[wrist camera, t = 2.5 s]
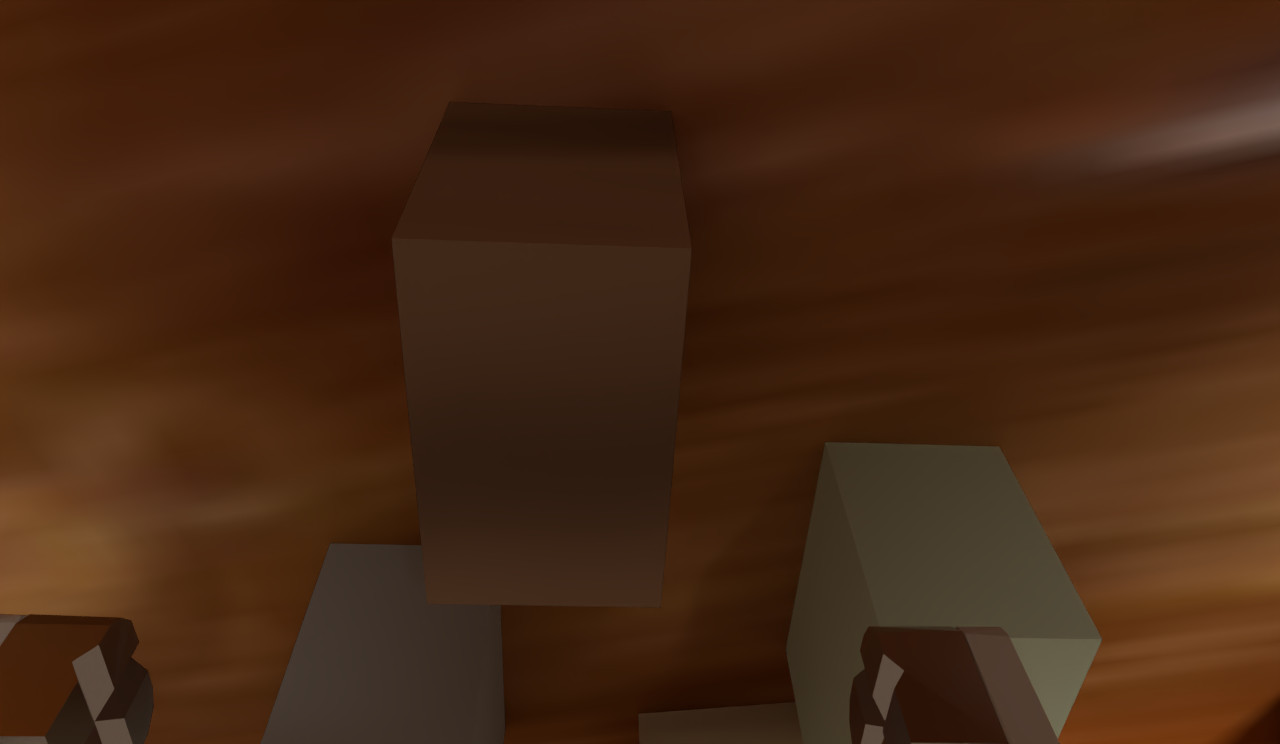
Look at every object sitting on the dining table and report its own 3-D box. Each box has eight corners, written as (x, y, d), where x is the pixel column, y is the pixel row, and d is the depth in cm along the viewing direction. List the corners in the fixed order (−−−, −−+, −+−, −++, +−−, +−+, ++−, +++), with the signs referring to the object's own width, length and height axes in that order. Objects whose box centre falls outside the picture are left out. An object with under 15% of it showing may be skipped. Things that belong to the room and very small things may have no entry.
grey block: (331, 540, 21) (260, 746, 17) (498, 544, 21) (470, 749, 17) (360, 724, 24) (307, 934, 20) (505, 725, 24) (482, 935, 20)
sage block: (824, 440, 19) (882, 636, 15) (998, 444, 20) (1101, 639, 15) (785, 646, 23) (823, 854, 19) (934, 648, 23) (1005, 854, 19)
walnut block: (450, 101, 16) (391, 238, 11) (670, 109, 16) (691, 248, 12) (467, 409, 19) (427, 603, 15) (649, 414, 19) (660, 607, 15)
